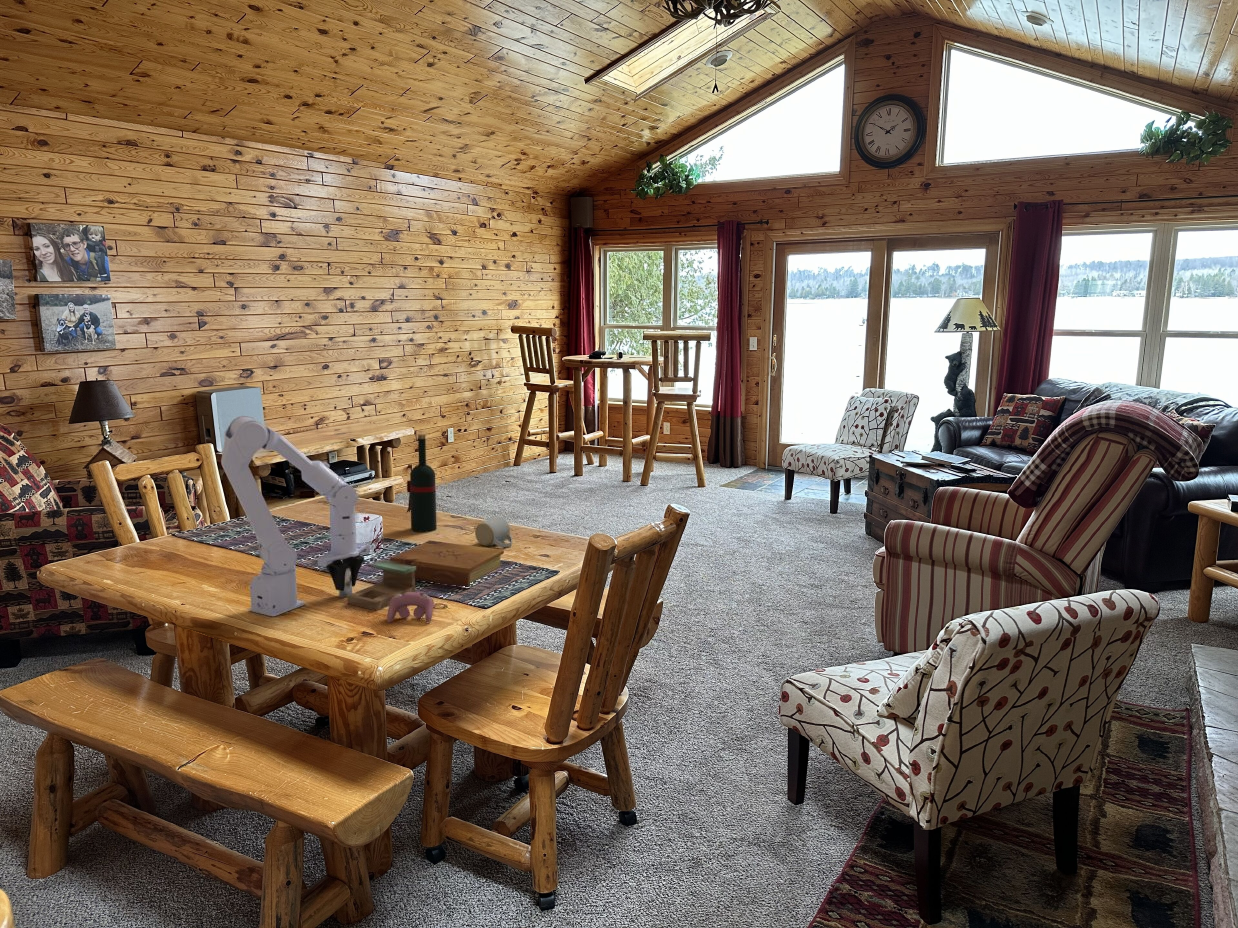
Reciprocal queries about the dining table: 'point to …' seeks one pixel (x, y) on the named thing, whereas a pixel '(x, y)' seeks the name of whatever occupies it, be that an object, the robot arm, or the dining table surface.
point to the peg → (347, 584)
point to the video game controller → (411, 599)
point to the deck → (385, 586)
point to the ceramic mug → (494, 532)
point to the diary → (450, 562)
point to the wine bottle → (422, 493)
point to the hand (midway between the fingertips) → (345, 587)
